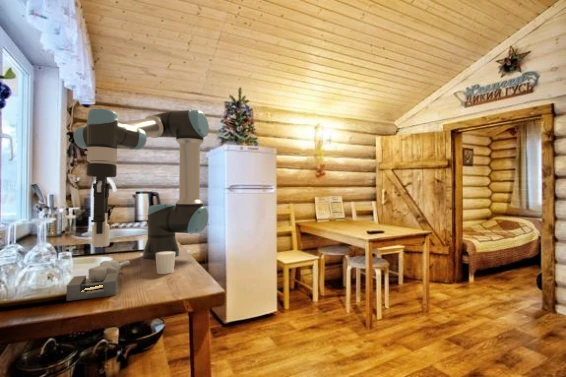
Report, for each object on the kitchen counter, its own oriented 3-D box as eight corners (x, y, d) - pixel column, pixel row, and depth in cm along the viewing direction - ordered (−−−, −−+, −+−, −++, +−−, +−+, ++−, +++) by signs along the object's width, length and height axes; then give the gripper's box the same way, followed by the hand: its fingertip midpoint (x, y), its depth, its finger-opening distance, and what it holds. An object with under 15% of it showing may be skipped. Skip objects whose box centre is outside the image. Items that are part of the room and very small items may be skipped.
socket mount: (74, 290, 90) (74, 276, 90) (118, 285, 95) (118, 272, 95) (66, 300, 81) (66, 285, 81) (115, 295, 86) (115, 281, 86)
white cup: (168, 275, 107) (168, 255, 107) (151, 273, 108) (151, 254, 108) (179, 270, 114) (179, 251, 114) (162, 269, 115) (162, 250, 115)
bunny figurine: (79, 270, 97) (107, 254, 112) (80, 285, 98) (108, 268, 113) (108, 271, 97) (133, 255, 112) (109, 286, 98) (133, 268, 113)
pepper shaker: (91, 245, 89) (92, 213, 89) (107, 244, 91) (107, 212, 92) (93, 247, 86) (94, 213, 86) (109, 246, 88) (110, 213, 88)
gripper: (91, 165, 95) (89, 240, 95) (81, 159, 79) (79, 250, 79) (118, 166, 98) (117, 238, 98) (114, 161, 83) (113, 248, 82)
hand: (100, 243), depth 89 cm, fingers closed on pepper shaker, 4 cm apart
